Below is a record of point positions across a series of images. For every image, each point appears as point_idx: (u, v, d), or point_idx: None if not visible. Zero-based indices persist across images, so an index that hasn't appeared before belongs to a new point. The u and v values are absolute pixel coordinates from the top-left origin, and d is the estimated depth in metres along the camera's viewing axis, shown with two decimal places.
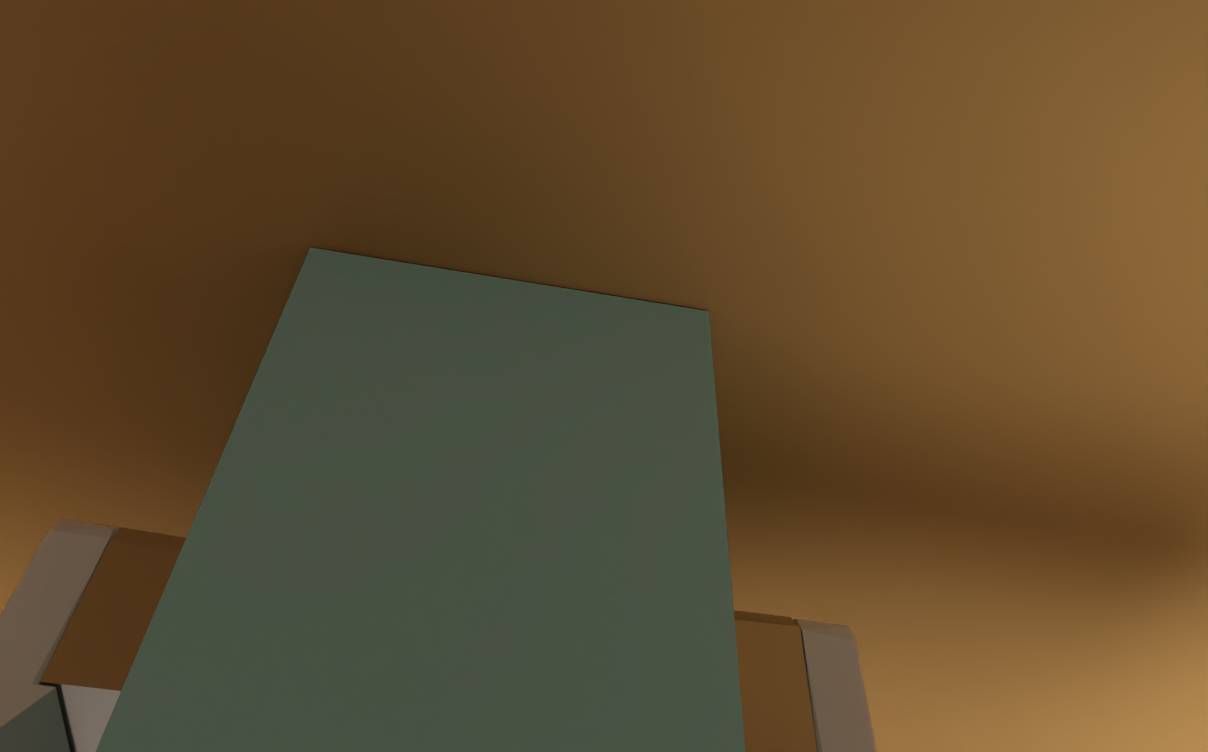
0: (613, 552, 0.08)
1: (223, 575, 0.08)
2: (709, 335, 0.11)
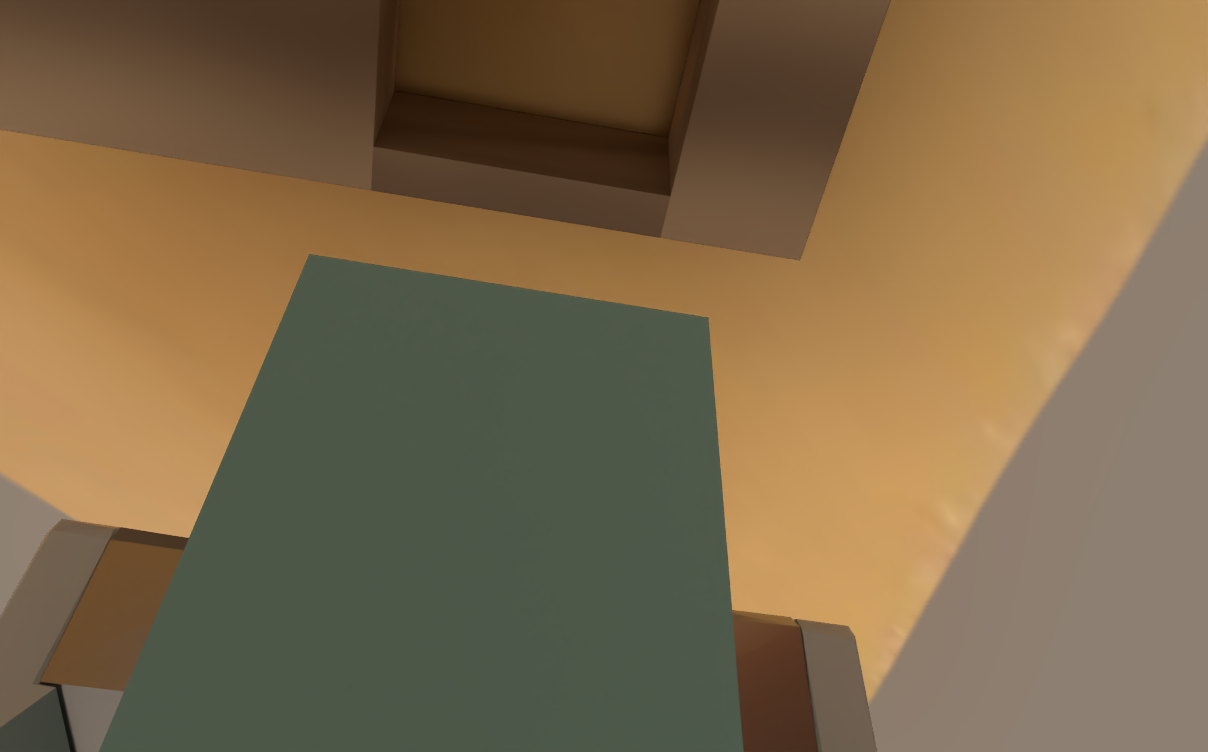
0: (613, 559, 0.08)
1: (222, 584, 0.08)
2: (708, 342, 0.11)
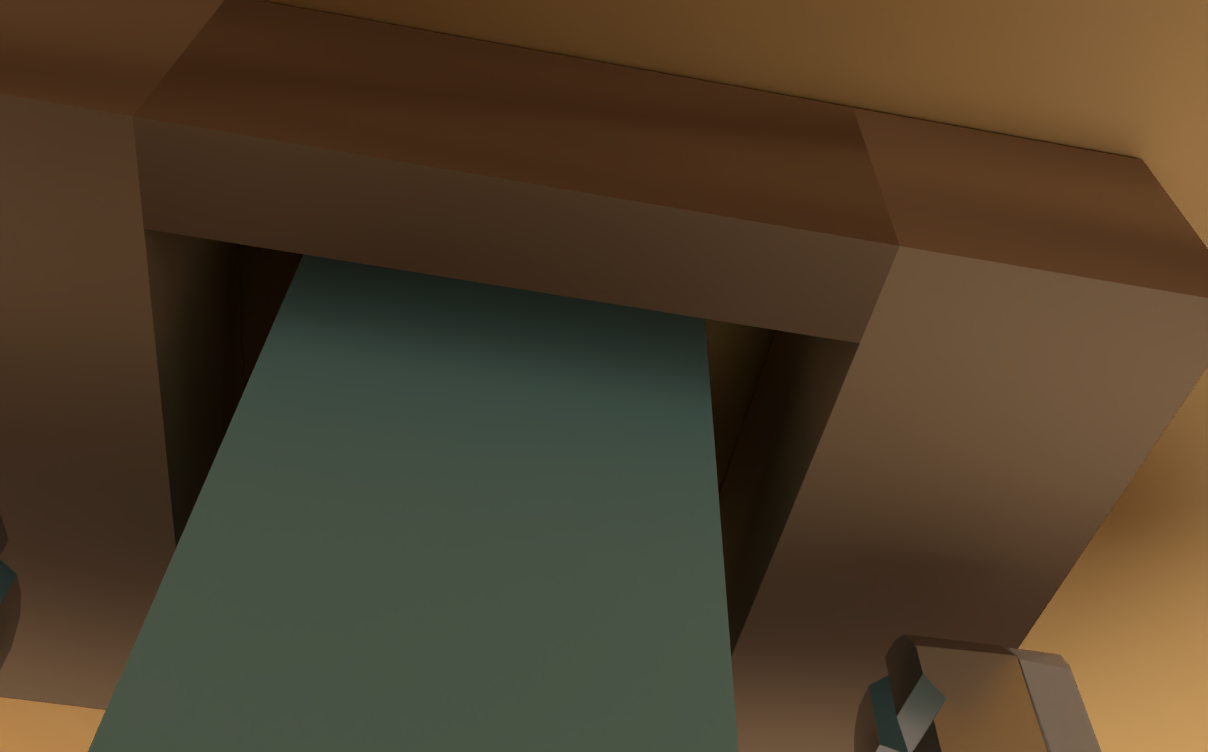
0: (611, 461, 0.09)
1: (256, 473, 0.08)
2: None
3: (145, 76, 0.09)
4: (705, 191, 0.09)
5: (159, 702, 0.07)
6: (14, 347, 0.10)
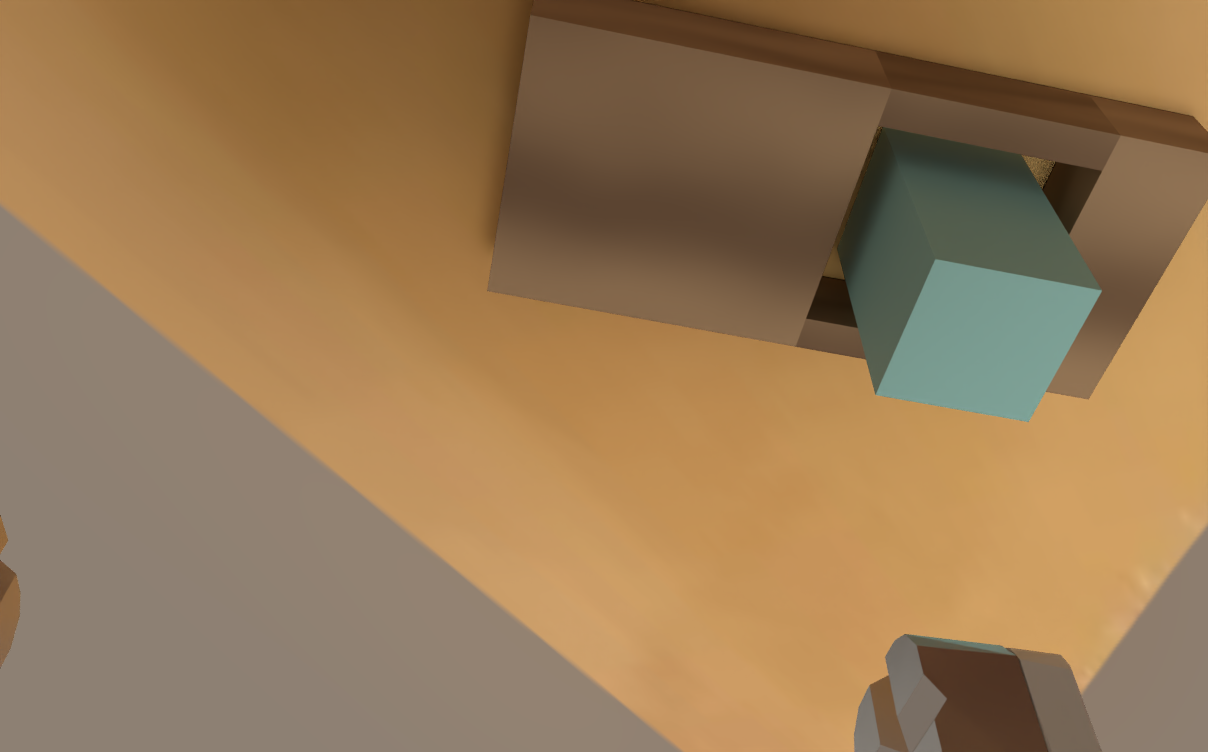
0: (1022, 206, 0.28)
1: (924, 200, 0.27)
2: (1023, 160, 0.31)
3: (882, 77, 0.28)
4: (1057, 117, 0.28)
5: (940, 242, 0.26)
6: (812, 168, 0.29)
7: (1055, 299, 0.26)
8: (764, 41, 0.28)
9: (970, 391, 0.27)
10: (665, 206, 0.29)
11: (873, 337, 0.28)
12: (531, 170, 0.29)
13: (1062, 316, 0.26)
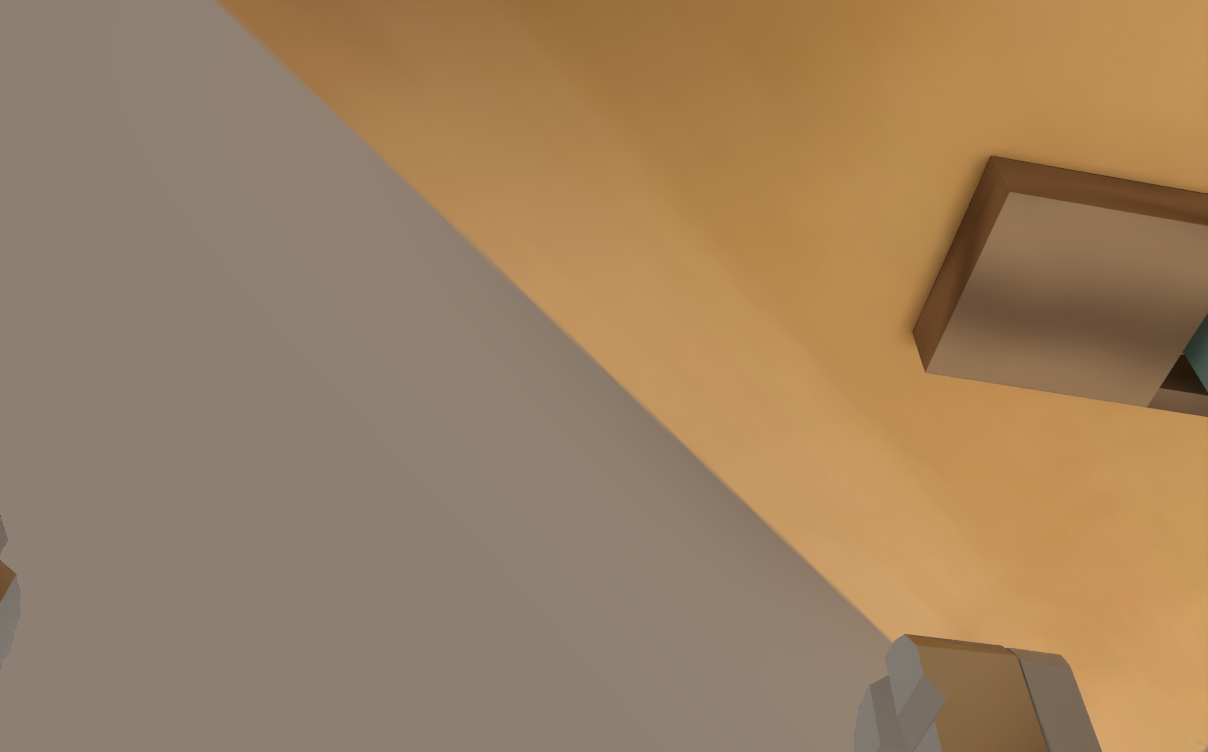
0: None
1: None
2: None
3: None
4: None
5: None
6: (1188, 287, 0.40)
7: None
8: (1157, 197, 0.39)
9: None
10: (1073, 313, 0.40)
11: None
12: (981, 291, 0.40)
13: None
